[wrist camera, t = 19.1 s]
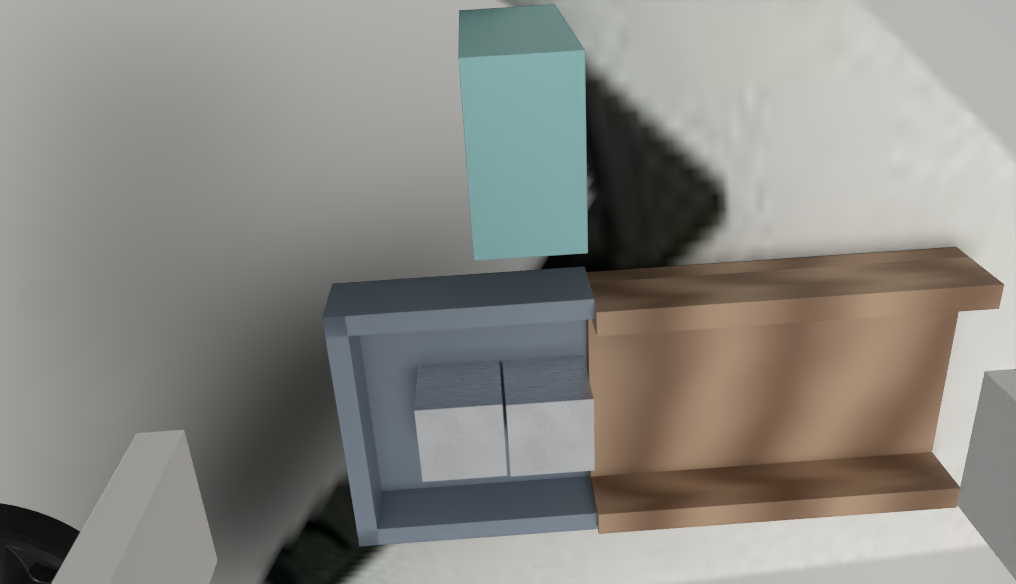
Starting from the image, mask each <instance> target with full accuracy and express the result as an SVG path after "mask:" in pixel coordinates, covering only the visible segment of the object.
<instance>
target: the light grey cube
mask: <svg viewBox="0 0 1016 584" xmlns="http://www.w3.org/2000/svg"><path fill="white" fill-rule="evenodd" d="M502 363H503V379H504V394H505V410H506V425H507V438H508V451H509V464H510V476H524V475H538V474H552V473H566V472H580V471H594V470H595V449H594V398H593V393H592V389H591V385H590V381H589V377H588V373H587V369H586V365H585V361H584V357H583V355H577V356H562V357H548V358H534V359H519V360H505V361H502Z"/></svg>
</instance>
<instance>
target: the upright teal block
mask: <svg viewBox="0 0 1016 584" xmlns="http://www.w3.org/2000/svg"><path fill="white" fill-rule="evenodd" d="M459 71H460V83H461V96H462V110H463V123H464V136H465V149H466V162H467V175H468V188H469V202H470V214H471V226H472V227H471V228H472V241H473V254H474V261H477V260H492V259H506V258H521V257H536V256H551V255H566V254H581V253H588V230H587V163H586V95H585V50H584V48H583V47H582V45H581V43H580V42H579V40H578V39H577V37H576V36H575V34H574V33H573V31H572V30H571V28H570V27H569V25H568V24H567V22H566V21H565V19H564V18H563V16H562V15H561V13H560V11H559V10H558V8H557V7H556V5H539V6H523V7H507V8H491V9H476V10H460V11H459Z"/></svg>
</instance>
